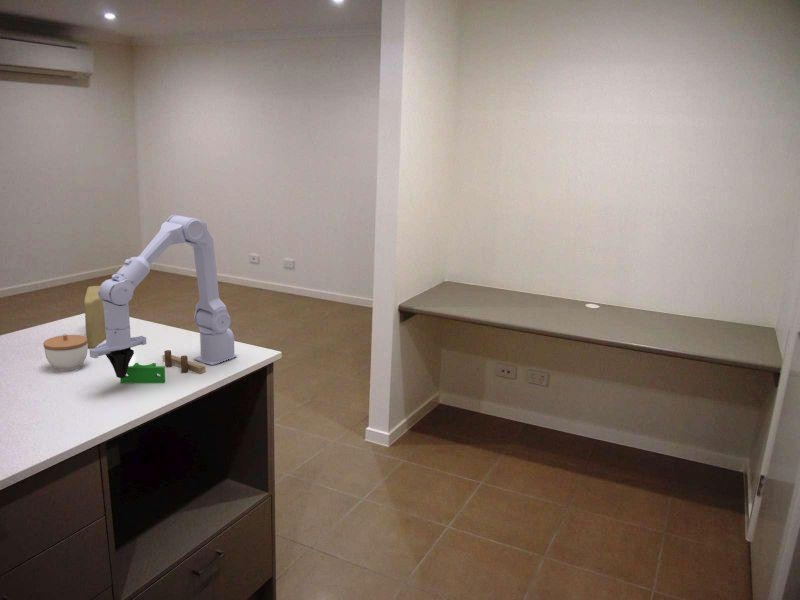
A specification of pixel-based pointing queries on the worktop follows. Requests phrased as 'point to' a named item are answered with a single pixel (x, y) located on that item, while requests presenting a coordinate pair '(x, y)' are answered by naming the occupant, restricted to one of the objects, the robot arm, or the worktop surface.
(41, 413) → the worktop surface
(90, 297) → the cheese
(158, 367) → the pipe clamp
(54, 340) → the lidded jar
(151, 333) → the worktop surface
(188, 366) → the peg rack
